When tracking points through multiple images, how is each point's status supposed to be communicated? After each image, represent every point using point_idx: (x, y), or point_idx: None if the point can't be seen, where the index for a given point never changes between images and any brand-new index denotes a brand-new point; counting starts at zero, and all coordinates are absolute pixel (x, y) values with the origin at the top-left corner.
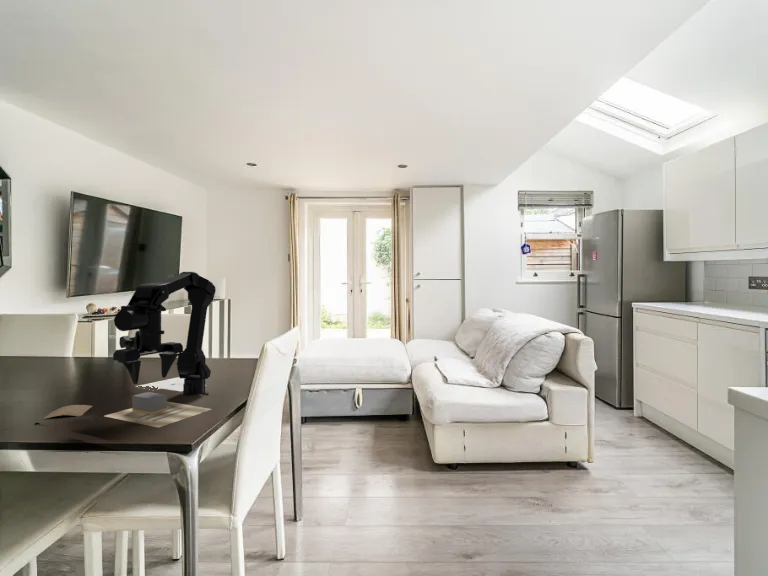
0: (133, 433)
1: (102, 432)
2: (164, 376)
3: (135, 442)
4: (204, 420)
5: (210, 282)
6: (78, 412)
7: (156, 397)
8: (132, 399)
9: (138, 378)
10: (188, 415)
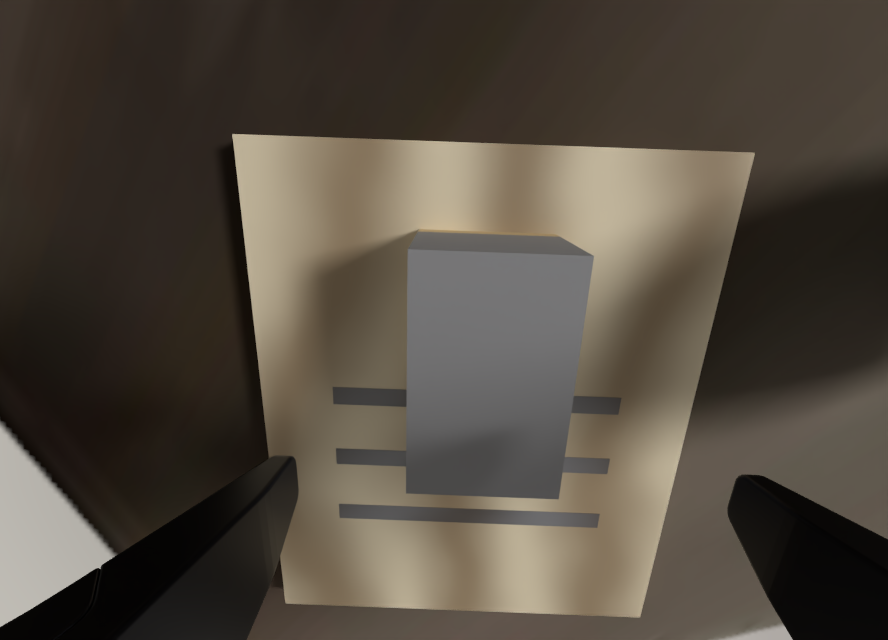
0: None
1: (130, 359)
2: (734, 529)
3: None
4: (515, 632)
5: None
6: None
7: (458, 490)
8: (412, 242)
9: (265, 589)
10: (496, 592)
